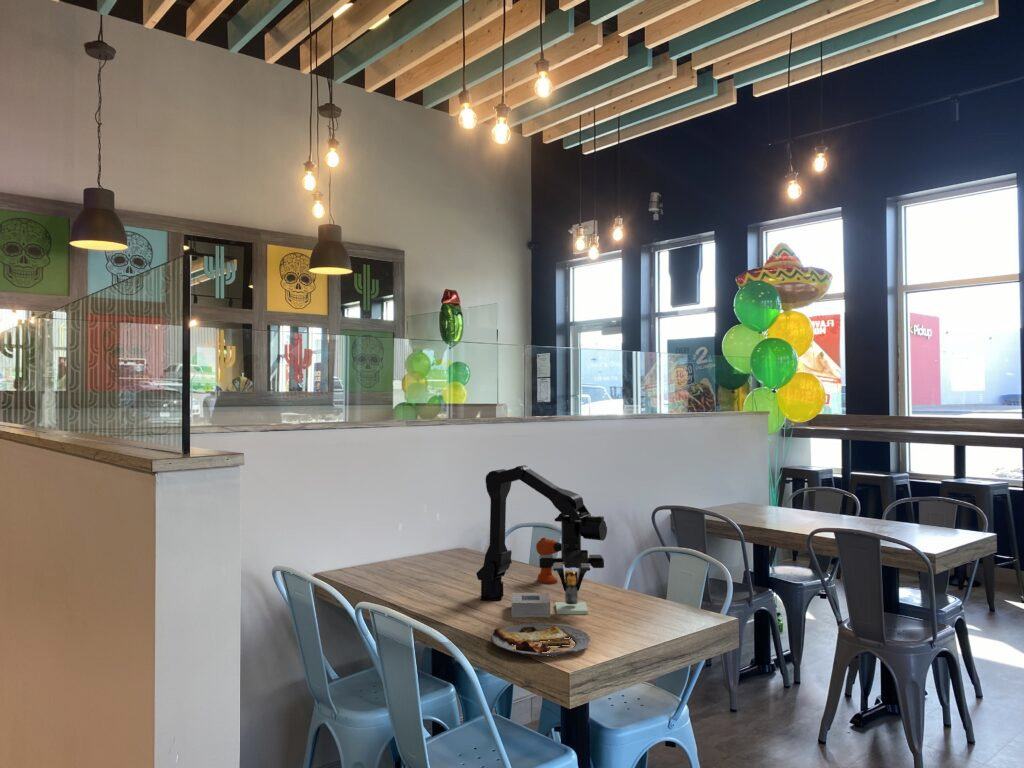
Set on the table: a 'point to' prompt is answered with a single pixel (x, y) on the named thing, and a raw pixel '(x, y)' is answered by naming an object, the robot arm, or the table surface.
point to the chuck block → (530, 605)
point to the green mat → (571, 608)
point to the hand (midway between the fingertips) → (571, 590)
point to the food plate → (539, 638)
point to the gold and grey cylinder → (571, 587)
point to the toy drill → (547, 548)
